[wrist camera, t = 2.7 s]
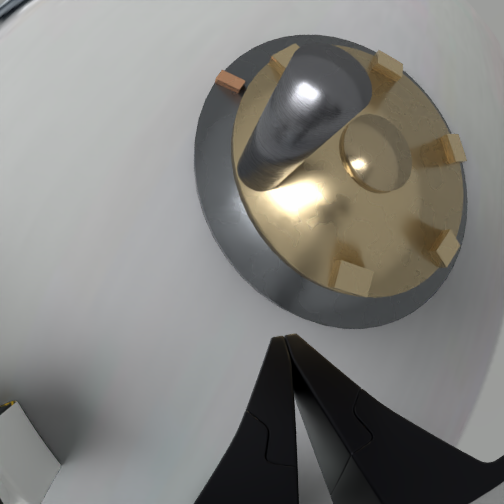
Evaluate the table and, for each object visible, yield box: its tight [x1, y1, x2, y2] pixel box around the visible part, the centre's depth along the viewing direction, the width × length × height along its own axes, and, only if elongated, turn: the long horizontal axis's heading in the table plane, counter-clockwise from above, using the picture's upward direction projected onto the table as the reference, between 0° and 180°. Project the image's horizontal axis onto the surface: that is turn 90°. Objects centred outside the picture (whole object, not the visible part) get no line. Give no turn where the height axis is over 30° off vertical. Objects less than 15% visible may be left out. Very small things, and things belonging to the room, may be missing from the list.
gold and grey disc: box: [194, 35, 467, 329], centre depth 24 cm, size 26×26×2 cm
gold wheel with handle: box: [231, 43, 467, 298], centre depth 17 cm, size 21×21×12 cm
